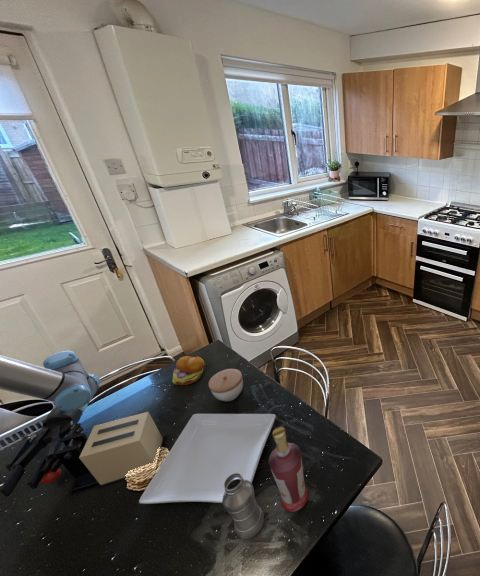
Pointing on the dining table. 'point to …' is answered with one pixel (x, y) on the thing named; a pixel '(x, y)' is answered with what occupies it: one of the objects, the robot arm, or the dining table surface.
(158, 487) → the square plate
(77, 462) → the lever bracket
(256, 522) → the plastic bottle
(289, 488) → the liquor
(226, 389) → the trinket box
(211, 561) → the dining table surface
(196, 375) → the cheeseburger
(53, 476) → the lever
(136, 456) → the toaster
